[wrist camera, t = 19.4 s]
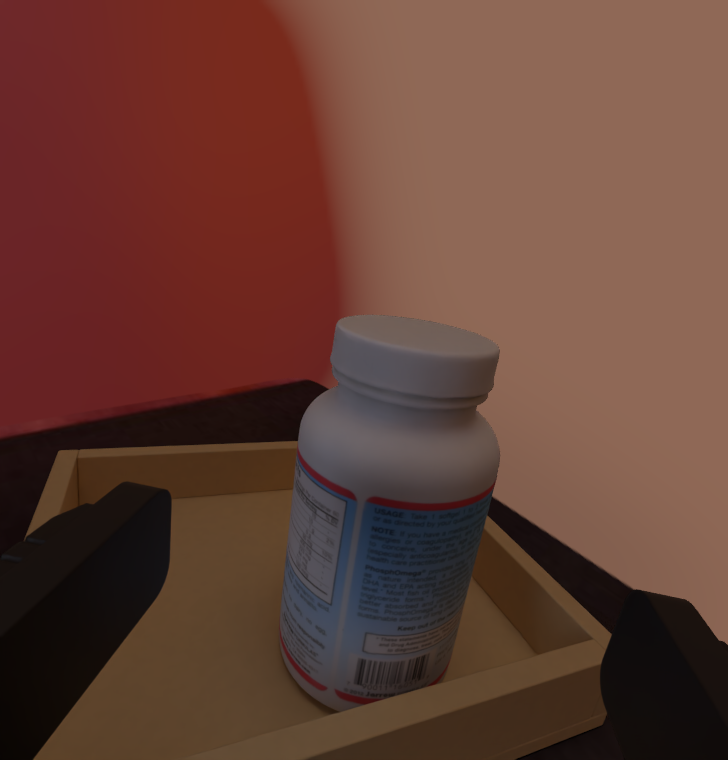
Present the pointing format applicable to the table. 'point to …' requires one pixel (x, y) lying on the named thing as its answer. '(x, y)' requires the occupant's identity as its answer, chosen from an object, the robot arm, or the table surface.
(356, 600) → the pill bottle
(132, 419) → the table surface
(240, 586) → the tray
